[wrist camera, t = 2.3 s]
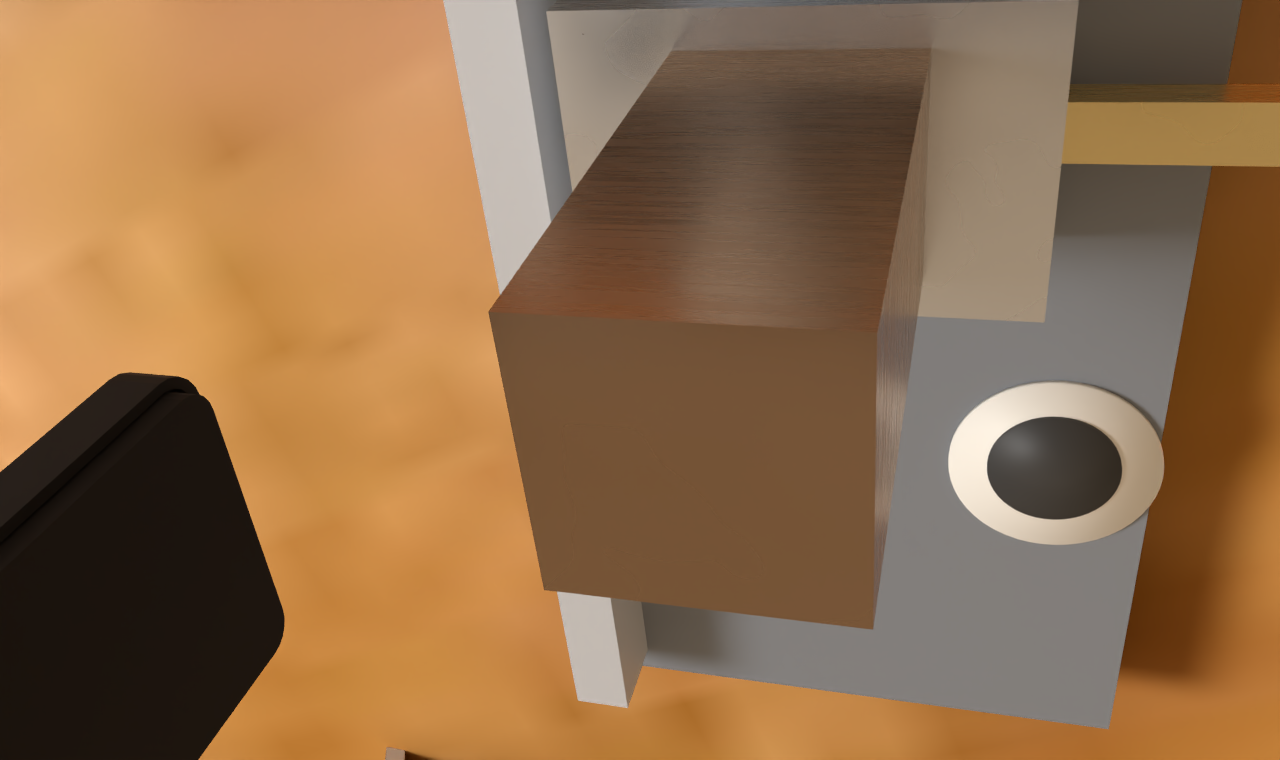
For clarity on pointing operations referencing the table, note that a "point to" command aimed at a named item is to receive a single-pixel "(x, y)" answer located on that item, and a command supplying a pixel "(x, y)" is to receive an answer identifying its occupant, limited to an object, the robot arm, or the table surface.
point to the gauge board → (939, 412)
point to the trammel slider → (790, 270)
